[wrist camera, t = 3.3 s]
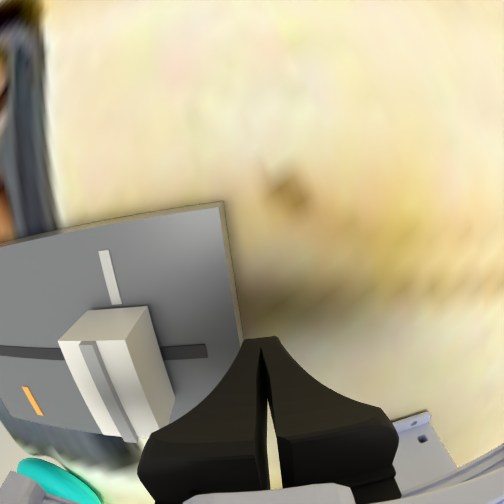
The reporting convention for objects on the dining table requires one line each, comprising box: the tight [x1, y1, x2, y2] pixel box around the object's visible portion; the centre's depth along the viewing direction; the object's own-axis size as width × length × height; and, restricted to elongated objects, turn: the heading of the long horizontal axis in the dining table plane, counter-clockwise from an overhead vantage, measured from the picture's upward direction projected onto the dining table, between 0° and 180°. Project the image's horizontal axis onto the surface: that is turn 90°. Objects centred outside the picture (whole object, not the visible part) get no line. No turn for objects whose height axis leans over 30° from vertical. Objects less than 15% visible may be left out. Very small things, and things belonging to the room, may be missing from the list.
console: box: [0, 201, 244, 434], centre depth 14 cm, size 18×12×3 cm, turn 97°
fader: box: [58, 306, 175, 443], centre depth 11 cm, size 3×5×3 cm, turn 7°
